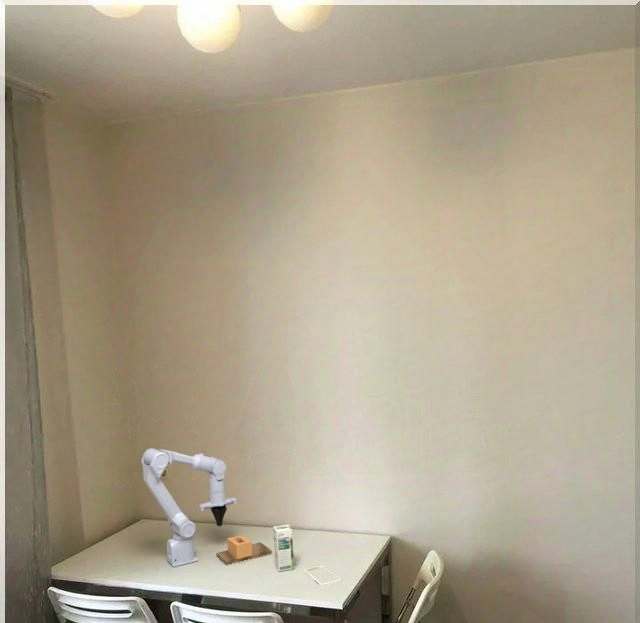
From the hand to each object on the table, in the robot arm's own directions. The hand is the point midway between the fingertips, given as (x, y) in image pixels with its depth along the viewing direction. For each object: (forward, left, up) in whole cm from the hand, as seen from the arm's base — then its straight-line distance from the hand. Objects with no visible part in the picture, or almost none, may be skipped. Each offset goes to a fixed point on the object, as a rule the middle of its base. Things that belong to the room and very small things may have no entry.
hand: (219, 525), depth 264 cm
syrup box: (+12, -31, -10) cm, 35 cm away
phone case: (+19, -46, -10) cm, 50 cm away
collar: (+3, -12, -8) cm, 15 cm away
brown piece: (+5, -11, -9) cm, 15 cm away
